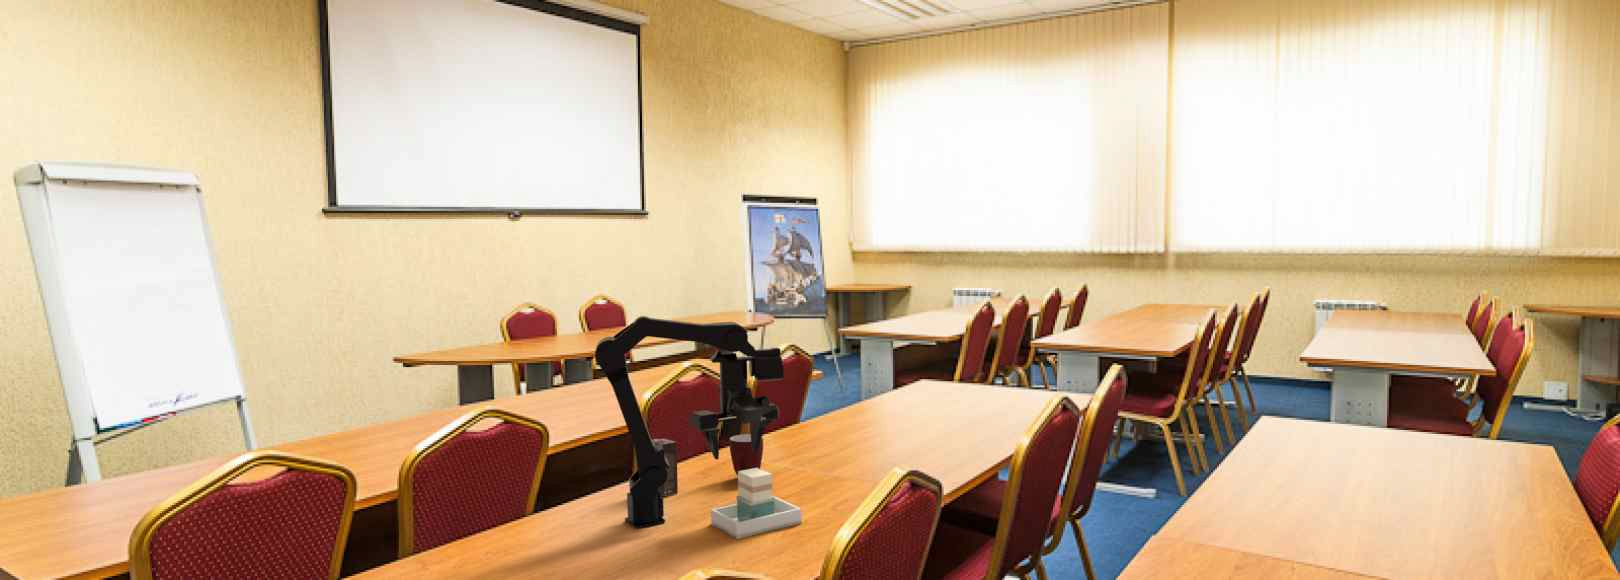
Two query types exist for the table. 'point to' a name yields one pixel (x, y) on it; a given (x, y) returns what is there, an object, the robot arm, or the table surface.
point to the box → (671, 455)
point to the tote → (756, 519)
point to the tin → (754, 508)
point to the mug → (745, 453)
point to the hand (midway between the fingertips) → (735, 455)
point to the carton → (755, 484)
